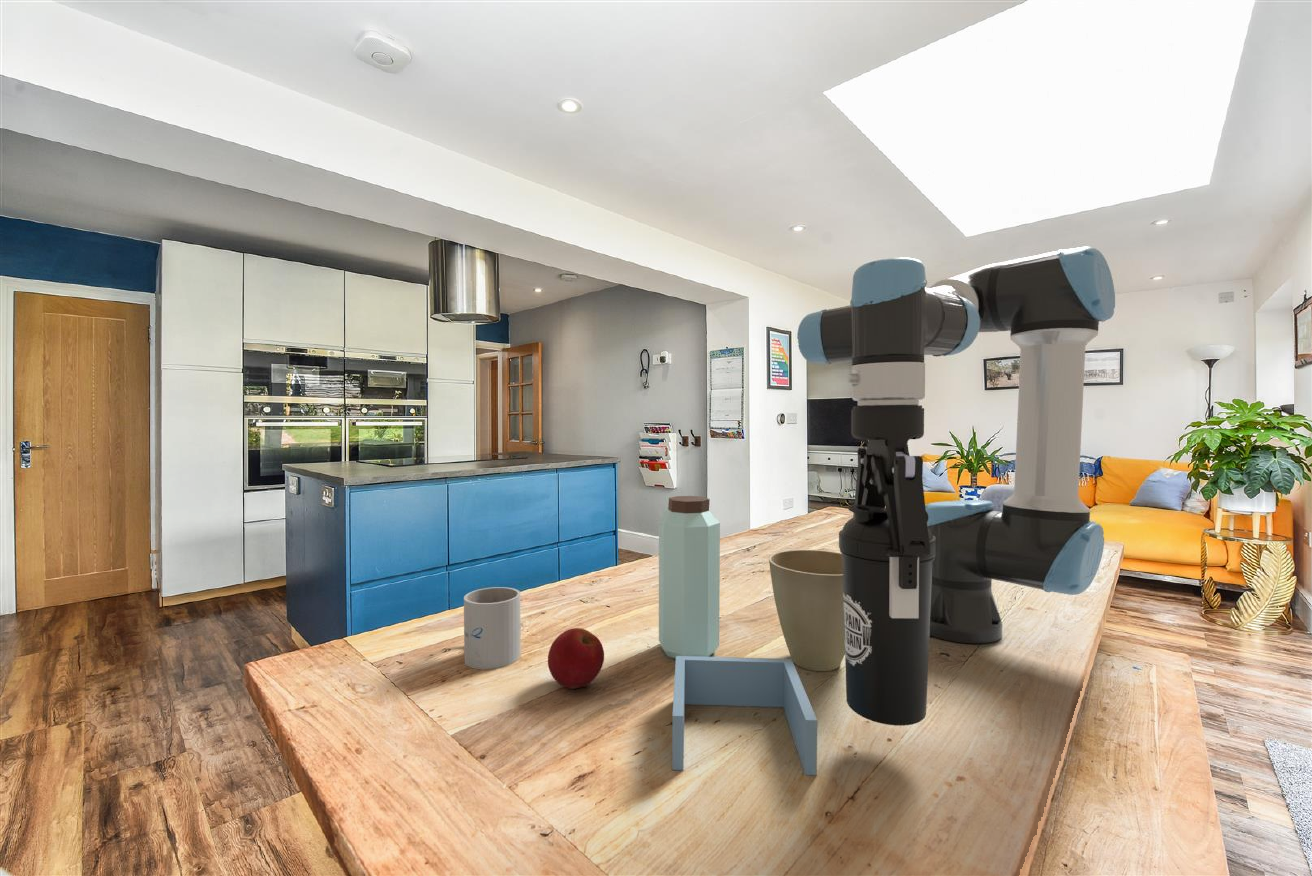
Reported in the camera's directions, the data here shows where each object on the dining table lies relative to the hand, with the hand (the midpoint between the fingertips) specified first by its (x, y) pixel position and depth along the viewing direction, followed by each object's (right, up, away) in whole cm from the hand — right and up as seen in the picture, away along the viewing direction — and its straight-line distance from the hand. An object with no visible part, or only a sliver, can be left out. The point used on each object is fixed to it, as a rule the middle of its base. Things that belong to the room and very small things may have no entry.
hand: (886, 599), depth 64 cm
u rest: (-16, -17, +4) cm, 24 cm away
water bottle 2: (0, -12, +1) cm, 13 cm away
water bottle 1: (-21, -17, +29) cm, 39 cm away
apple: (-37, -17, +17) cm, 44 cm away
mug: (-53, -17, +27) cm, 62 cm away
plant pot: (-1, -17, +24) cm, 30 cm away
